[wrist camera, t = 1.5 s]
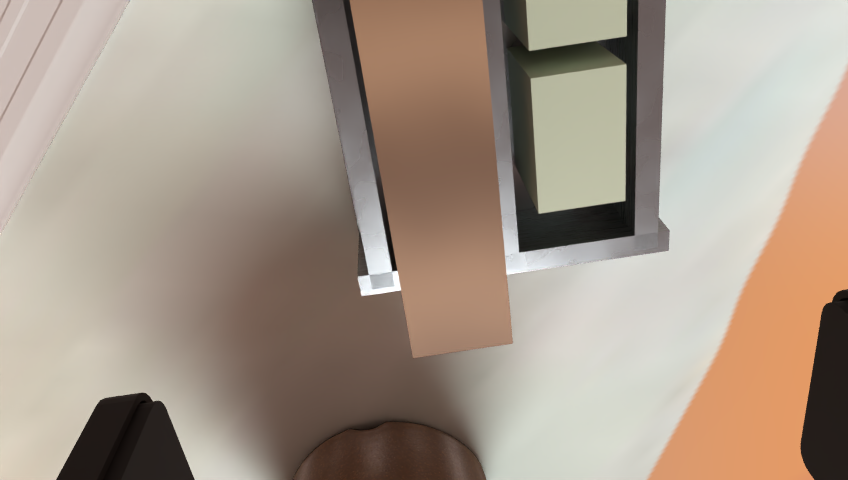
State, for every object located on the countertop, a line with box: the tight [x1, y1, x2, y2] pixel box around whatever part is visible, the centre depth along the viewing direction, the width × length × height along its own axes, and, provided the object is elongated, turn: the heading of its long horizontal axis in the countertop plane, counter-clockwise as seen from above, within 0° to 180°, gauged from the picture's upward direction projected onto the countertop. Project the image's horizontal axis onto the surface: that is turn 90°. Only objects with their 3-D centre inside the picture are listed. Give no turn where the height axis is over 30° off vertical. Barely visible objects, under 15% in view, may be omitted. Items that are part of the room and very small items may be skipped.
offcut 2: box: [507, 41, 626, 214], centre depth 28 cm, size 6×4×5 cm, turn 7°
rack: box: [312, 0, 669, 296], centre depth 28 cm, size 18×14×5 cm
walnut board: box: [350, 0, 513, 358], centre depth 23 cm, size 12×3×13 cm, turn 7°
